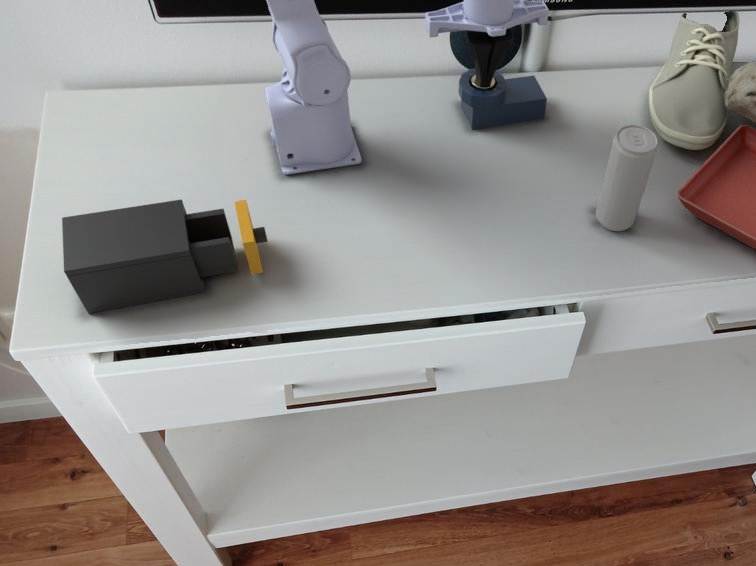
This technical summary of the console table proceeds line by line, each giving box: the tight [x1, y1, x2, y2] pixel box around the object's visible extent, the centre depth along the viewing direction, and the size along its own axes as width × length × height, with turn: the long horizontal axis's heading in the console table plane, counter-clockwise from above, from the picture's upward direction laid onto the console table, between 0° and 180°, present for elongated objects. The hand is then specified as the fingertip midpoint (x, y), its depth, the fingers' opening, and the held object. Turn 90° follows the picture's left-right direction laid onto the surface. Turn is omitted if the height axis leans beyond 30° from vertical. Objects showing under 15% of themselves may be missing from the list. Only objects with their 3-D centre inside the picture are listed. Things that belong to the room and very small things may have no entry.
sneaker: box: [648, 10, 740, 151], centre depth 105 cm, size 11×29×8 cm, turn 165°
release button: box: [471, 75, 495, 91], centre depth 98 cm, size 3×3×2 cm
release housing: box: [458, 68, 548, 130], centre depth 100 cm, size 11×6×5 cm, turn 109°
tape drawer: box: [185, 199, 269, 278], centre depth 81 cm, size 12×6×5 cm, turn 109°
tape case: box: [61, 199, 206, 315], centre depth 79 cm, size 11×7×6 cm, turn 109°
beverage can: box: [595, 124, 659, 232], centre depth 88 cm, size 5×5×12 cm
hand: (483, 80), depth 97 cm, fingers closed, pressing on release button
